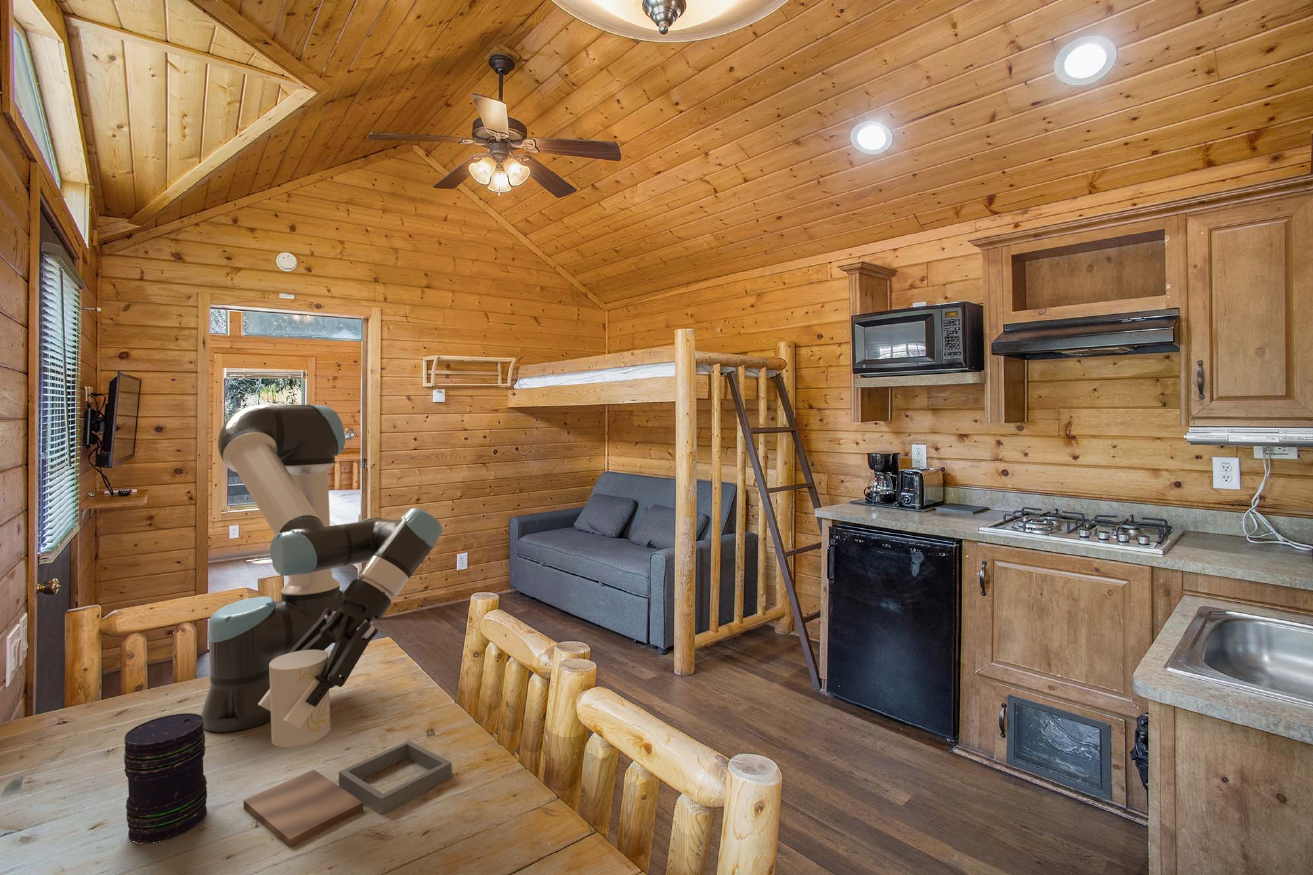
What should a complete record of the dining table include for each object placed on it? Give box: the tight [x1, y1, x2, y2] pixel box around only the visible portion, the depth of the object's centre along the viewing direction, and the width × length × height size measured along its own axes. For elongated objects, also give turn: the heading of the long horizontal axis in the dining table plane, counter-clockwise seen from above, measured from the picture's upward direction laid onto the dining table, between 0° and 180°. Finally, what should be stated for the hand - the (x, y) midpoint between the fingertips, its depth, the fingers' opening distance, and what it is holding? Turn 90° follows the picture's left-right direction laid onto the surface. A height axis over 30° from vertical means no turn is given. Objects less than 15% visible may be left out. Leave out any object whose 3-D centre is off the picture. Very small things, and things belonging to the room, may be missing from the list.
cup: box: [269, 650, 331, 748], centre depth 102 cm, size 8×8×12 cm
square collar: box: [338, 739, 453, 815], centre depth 110 cm, size 13×13×2 cm
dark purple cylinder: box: [123, 712, 208, 844], centre depth 99 cm, size 10×10×15 cm
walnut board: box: [243, 769, 364, 848], centre depth 103 cm, size 16×11×1 cm
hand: (278, 715), depth 99 cm, fingers closed on cup, 8 cm apart
